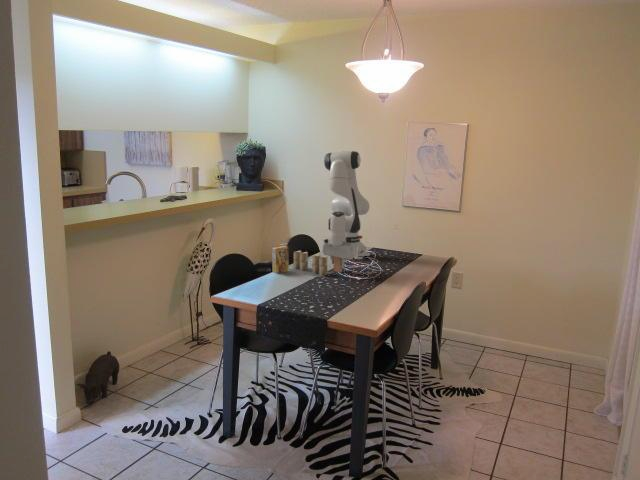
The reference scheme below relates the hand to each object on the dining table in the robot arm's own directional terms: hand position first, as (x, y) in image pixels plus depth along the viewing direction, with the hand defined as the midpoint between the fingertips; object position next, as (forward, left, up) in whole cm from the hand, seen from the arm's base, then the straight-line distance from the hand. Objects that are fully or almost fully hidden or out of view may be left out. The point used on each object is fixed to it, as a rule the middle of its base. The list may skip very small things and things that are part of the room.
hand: (337, 264), depth 293 cm
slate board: (+10, -12, -5) cm, 17 cm away
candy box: (+22, -24, -5) cm, 33 cm away
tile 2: (+10, -17, -4) cm, 20 cm away
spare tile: (0, 0, -5) cm, 5 cm away
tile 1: (+10, -22, -4) cm, 25 cm away
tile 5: (+10, -2, -4) cm, 11 cm away
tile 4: (+10, -7, -4) cm, 13 cm away
